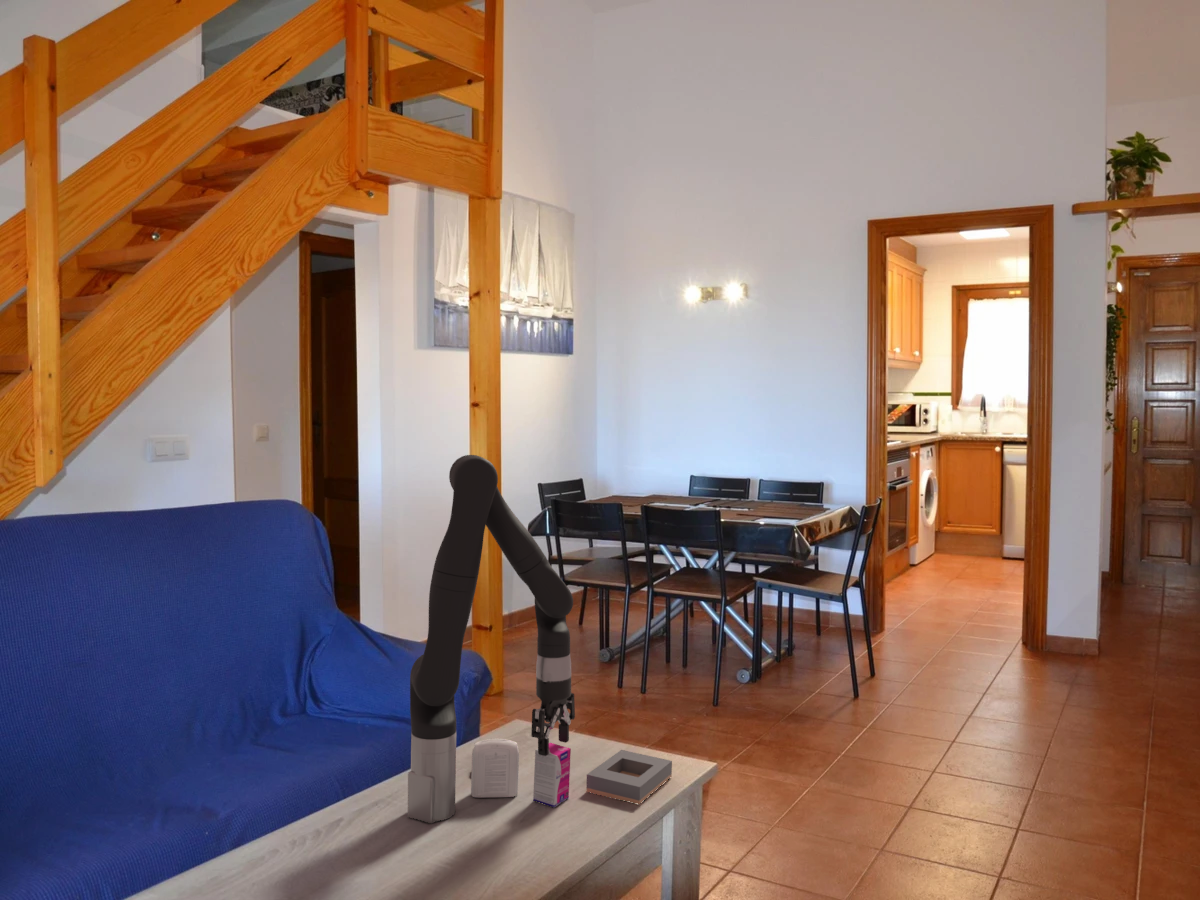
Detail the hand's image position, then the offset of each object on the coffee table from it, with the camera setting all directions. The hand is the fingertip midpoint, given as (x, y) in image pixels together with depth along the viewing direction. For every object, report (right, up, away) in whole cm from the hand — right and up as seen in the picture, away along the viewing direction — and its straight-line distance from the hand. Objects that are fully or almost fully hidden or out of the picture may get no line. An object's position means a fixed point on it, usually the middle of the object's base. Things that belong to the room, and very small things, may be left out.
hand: (553, 748), depth 210 cm
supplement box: (0, -12, +1) cm, 12 cm away
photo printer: (-13, -11, +3) cm, 17 cm away
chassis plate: (+17, -11, +10) cm, 22 cm away
